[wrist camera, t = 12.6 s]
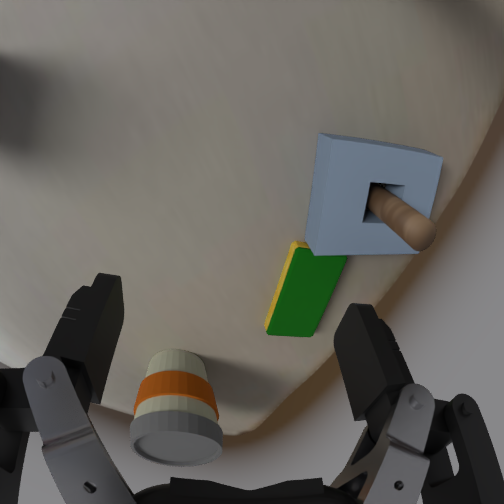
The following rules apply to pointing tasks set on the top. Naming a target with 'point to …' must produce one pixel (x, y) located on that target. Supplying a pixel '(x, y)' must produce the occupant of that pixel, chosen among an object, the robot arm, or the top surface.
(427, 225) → the walnut peg
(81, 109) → the top surface
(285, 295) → the dish sponge
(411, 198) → the hole block
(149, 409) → the reusable coffee cup
